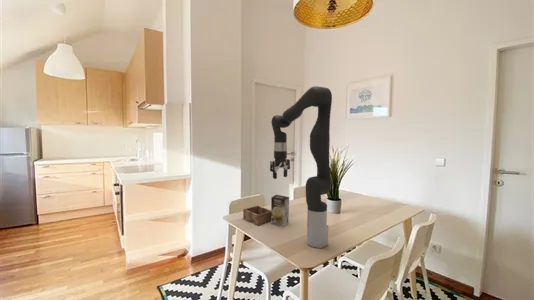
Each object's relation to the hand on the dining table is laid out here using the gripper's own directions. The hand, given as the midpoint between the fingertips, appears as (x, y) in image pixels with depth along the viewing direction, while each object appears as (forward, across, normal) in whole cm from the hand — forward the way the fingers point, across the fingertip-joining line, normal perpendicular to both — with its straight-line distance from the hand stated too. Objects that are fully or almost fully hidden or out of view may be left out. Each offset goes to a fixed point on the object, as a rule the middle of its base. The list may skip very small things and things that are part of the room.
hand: (280, 177), depth 142 cm
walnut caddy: (+27, -6, +13) cm, 31 cm away
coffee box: (+28, 0, 0) cm, 28 cm away
